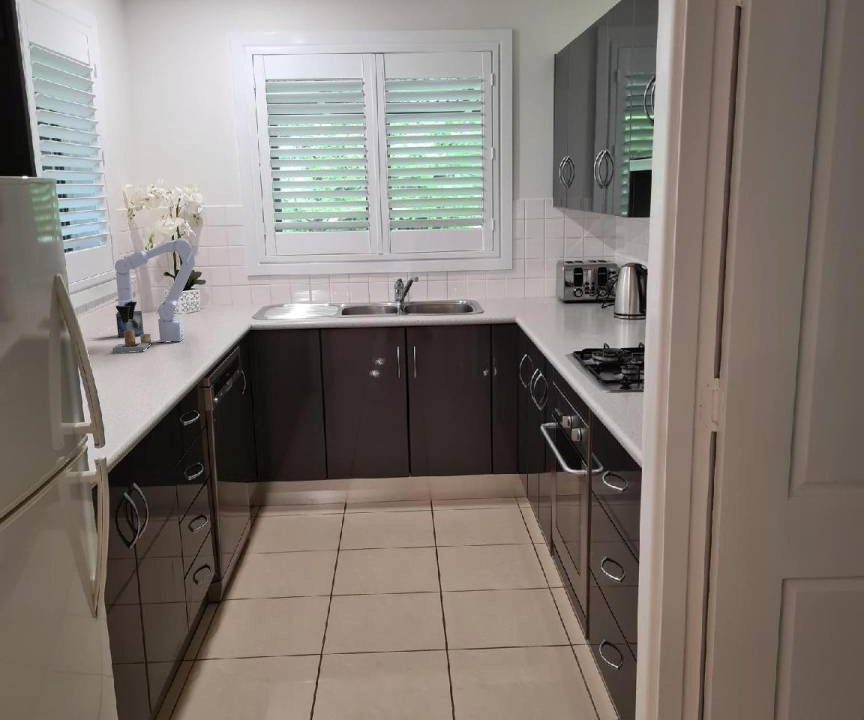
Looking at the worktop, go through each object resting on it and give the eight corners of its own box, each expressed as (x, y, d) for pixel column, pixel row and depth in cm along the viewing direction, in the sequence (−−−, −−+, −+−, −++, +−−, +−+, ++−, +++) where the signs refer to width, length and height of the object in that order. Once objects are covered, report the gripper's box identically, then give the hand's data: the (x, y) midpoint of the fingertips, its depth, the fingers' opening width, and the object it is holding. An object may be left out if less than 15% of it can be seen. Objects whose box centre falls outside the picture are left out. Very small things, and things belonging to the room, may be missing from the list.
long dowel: (137, 349, 332) (135, 330, 330) (134, 351, 328) (132, 331, 326) (127, 349, 331) (125, 330, 330) (124, 351, 327) (122, 332, 326)
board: (149, 347, 334) (148, 343, 333) (144, 352, 326) (143, 347, 326) (119, 348, 333) (118, 344, 332) (113, 353, 325) (112, 348, 325)
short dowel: (152, 344, 341) (151, 333, 340) (150, 346, 337) (149, 335, 336) (142, 344, 341) (141, 334, 340) (140, 346, 337) (139, 336, 336)
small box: (117, 337, 357) (115, 314, 355) (119, 335, 363) (116, 311, 361) (143, 336, 360) (140, 312, 357) (144, 333, 366) (141, 310, 363)
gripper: (119, 286, 344) (123, 318, 347) (109, 291, 330) (113, 324, 333) (136, 285, 344) (140, 317, 347) (127, 290, 330) (130, 323, 333)
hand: (128, 320), depth 340 cm, fingers open, 7 cm apart
